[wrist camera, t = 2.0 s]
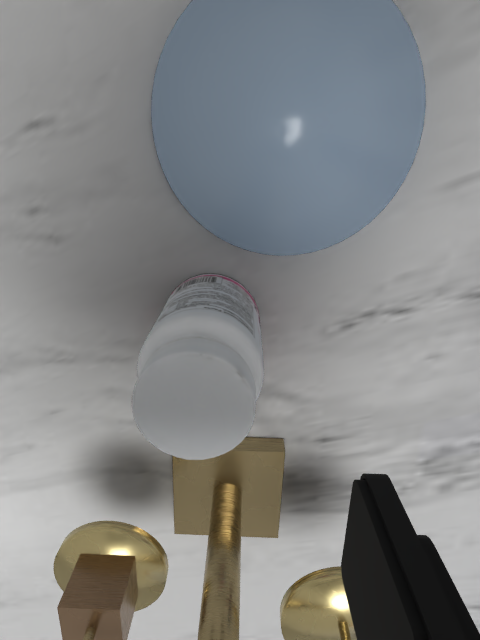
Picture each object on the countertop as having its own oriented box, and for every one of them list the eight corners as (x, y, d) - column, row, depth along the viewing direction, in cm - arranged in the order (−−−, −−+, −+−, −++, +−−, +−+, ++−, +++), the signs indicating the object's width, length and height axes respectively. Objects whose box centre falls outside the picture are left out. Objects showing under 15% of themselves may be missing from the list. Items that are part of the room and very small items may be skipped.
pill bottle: (236, 374, 23) (229, 490, 15) (151, 339, 22) (96, 440, 14) (276, 296, 21) (293, 379, 13) (186, 255, 20) (147, 316, 12)
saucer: (150, -40, 16) (145, -53, 15) (439, -31, 16) (451, -43, 15) (160, 247, 20) (156, 251, 19) (393, 255, 20) (401, 260, 19)
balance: (95, 431, 24) (-60, 707, 12) (364, 441, 24) (482, 730, 12) (103, 514, 26) (-21, 820, 14) (350, 524, 26) (439, 840, 14)
